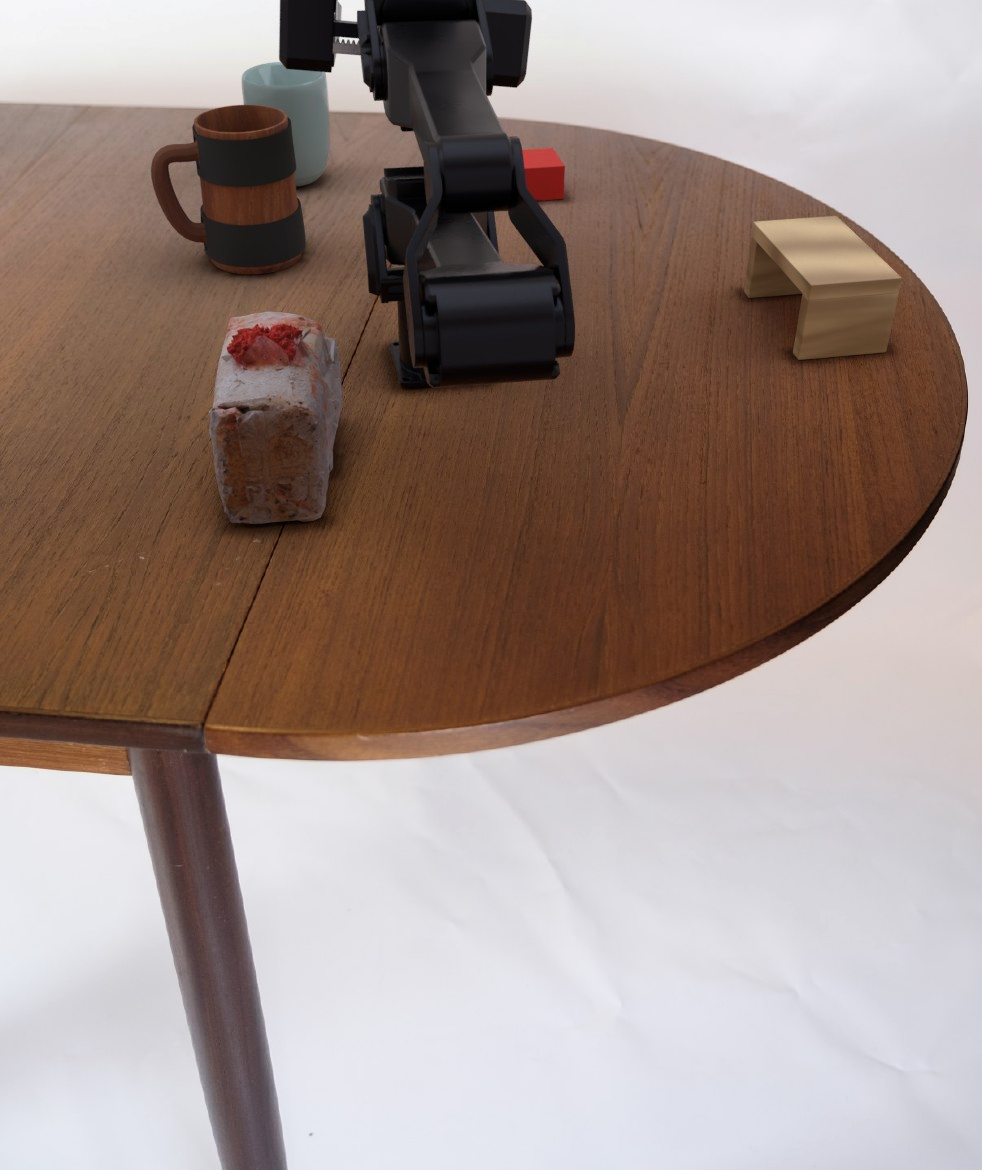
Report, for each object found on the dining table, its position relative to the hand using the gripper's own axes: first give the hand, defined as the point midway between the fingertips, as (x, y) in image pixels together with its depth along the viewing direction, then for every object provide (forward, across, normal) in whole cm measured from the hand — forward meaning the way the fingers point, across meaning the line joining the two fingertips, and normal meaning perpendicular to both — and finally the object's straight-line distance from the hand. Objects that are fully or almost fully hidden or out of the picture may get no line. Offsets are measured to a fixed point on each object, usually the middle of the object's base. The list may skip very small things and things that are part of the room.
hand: (395, 19), depth 103 cm
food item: (-35, +9, +24) cm, 44 cm away
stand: (-20, -32, +17) cm, 42 cm away
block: (+10, -14, +15) cm, 23 cm away
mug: (-2, +12, +20) cm, 24 cm away
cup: (+16, +7, +17) cm, 25 cm away
